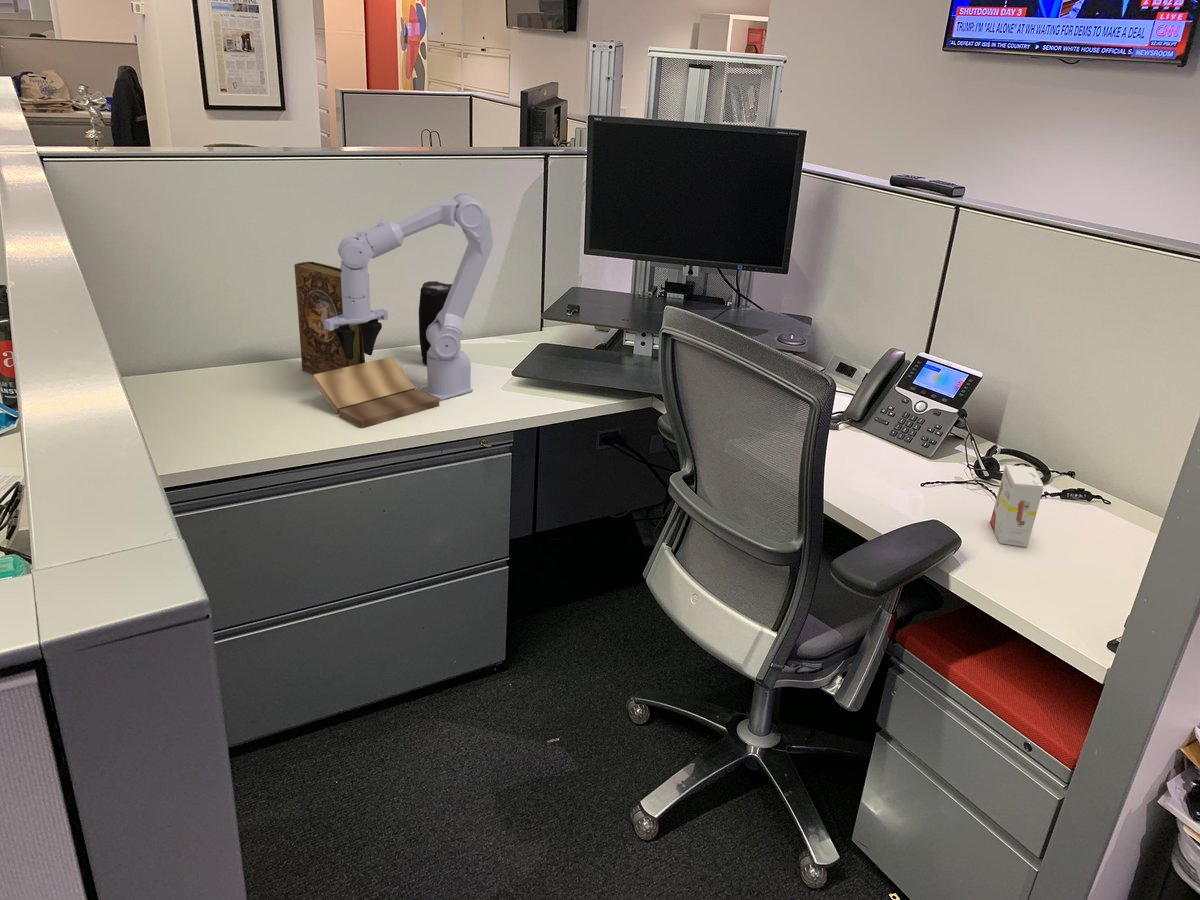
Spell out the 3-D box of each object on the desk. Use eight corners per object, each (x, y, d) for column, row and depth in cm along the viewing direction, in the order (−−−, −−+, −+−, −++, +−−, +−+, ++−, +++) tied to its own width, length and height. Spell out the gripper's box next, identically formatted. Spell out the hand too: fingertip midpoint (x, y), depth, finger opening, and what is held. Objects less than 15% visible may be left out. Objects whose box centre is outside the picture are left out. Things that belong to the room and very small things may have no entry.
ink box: (988, 521, 165) (1004, 462, 160) (1017, 525, 164) (1034, 466, 159) (997, 543, 157) (1014, 482, 152) (1027, 548, 156) (1045, 487, 152)
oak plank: (390, 361, 207) (391, 356, 206) (413, 392, 204) (415, 387, 203) (312, 379, 194) (313, 374, 193) (336, 413, 190) (337, 408, 189)
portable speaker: (463, 360, 228) (463, 284, 220) (441, 371, 220) (441, 291, 212) (434, 354, 231) (433, 278, 223) (412, 364, 223) (410, 285, 215)
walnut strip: (416, 395, 204) (416, 388, 203) (439, 405, 199) (439, 399, 198) (339, 416, 190) (338, 409, 189) (361, 428, 185) (361, 421, 185)
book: (298, 369, 214) (290, 264, 204) (316, 364, 219) (309, 260, 208) (348, 386, 207) (342, 277, 196) (365, 379, 211) (360, 273, 201)
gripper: (373, 286, 199) (375, 345, 205) (314, 295, 189) (318, 358, 195) (392, 293, 195) (394, 353, 200) (333, 303, 185) (337, 366, 190)
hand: (358, 356), depth 197 cm, fingers open, 4 cm apart
